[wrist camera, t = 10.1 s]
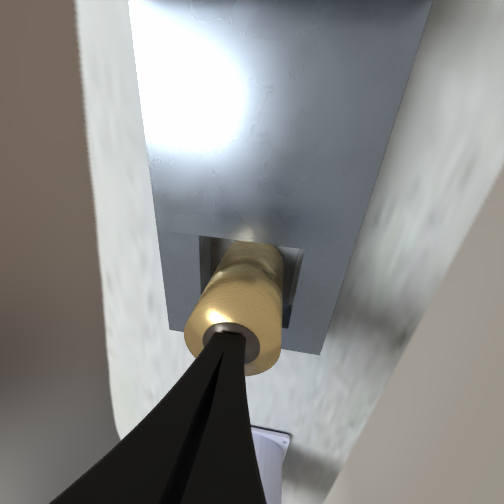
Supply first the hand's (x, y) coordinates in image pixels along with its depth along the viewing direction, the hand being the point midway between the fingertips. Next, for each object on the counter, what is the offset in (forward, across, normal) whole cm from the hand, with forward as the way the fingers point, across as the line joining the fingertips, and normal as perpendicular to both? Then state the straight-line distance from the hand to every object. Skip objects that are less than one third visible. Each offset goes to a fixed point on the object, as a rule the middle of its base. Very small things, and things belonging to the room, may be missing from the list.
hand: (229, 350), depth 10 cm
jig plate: (+7, 0, -5) cm, 9 cm away
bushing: (+7, 0, 0) cm, 7 cm away
